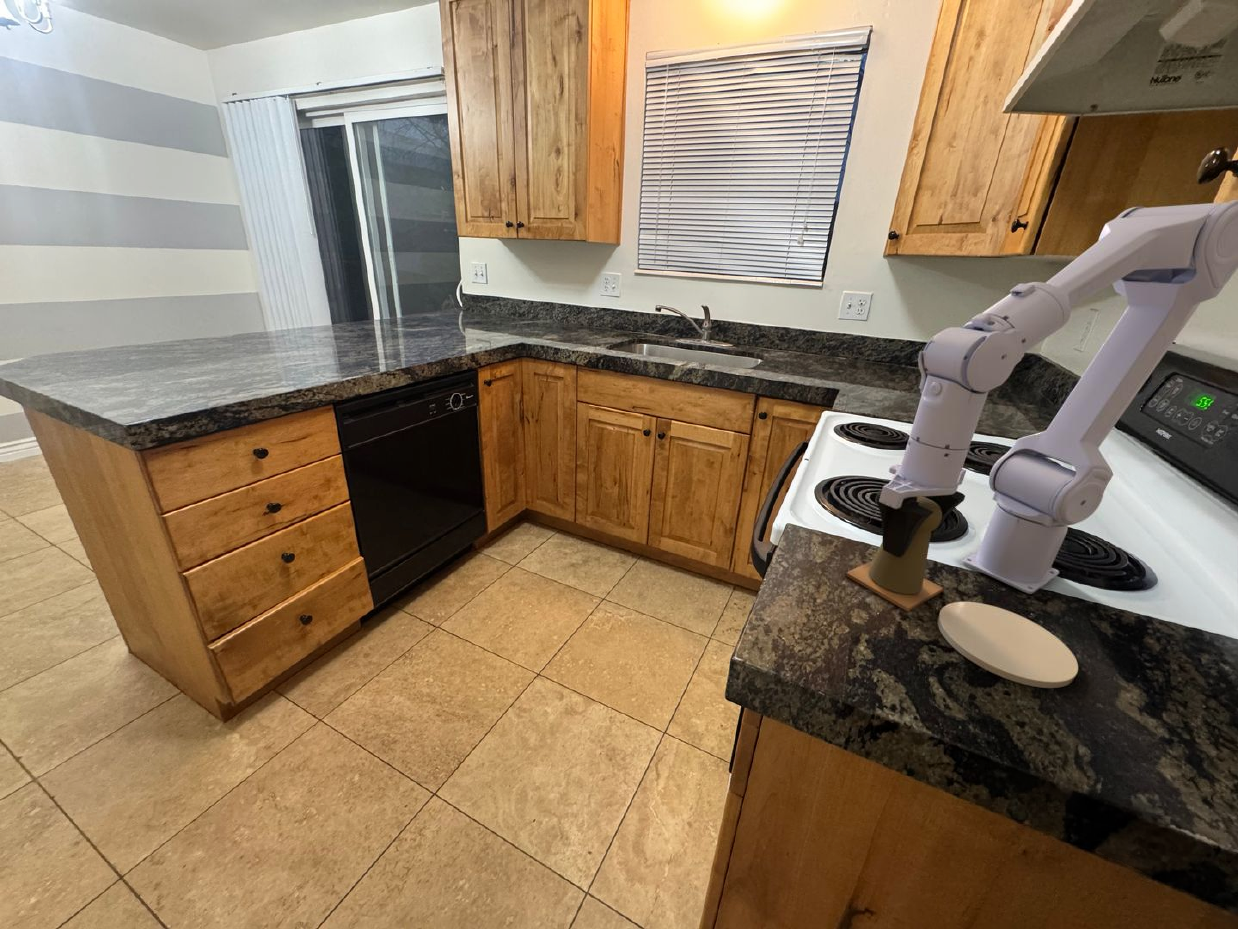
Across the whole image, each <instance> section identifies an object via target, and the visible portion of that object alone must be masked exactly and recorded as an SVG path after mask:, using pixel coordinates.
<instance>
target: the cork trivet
mask: <svg viewBox="0 0 1238 929" xmlns="http://www.w3.org/2000/svg"><path fill="white" fill-rule="evenodd" d="M872 562H873V560H871V561H869V562H866V563H864V564H862V565H860V566H857V567H855V568H853V569H851V570H849V571H847V572H846V573H845V577H847V578H849V579H850V580H852V581H854V582H855V583H857V584H859V585H861V586H863V587H864V588H866V589H868V590H870V591H871V592H873V593H874V594H877V595H878V596H880V597H881V598H883V599H884V600H886V601H888V602H889V603H891V604H893V605H895V606H897V607H898V608H900V609H901V610H904V611H905V612H910V611H911V610H913V609H915V608H916V607H918V606H920V605H922V604H924V603H925V602H927V601H929V600H930V599H933V597H935V596H937V595H939V594H940V593H942V592H943V591H944V587H942V586H940V585H938V584H936V583H934V582H932V581H930V580H929V579H927V578H925V577H924V580H923V586H922V589H921V591H920V592H918V593H915V594H902V593H898V592H894V591H891V590H888V589H886V588H884V587H882V586H880V585H878V584H877V583H876V582H875V581H873V580H872V579H871V577H870V576H869V573H868V570H869V568H870V566H871V564H872Z"/></svg>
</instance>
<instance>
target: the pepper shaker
mask: <svg viewBox="0 0 1238 929" xmlns="http://www.w3.org/2000/svg"><path fill="white" fill-rule="evenodd" d="M916 502H919V504H918V505H919V506H921V507H924V508H926V509H929V510H931V511H933V512H934V513H932V514H931V515H930V516H929V517H928V518H927V519H926V520H925V521H924V522H923V523H922V524H921V525H920V527H919V528H918V530H917V531H916V533H915V534H914V536H913V538H912V540H911V543H910V545H909V547H908V549H907V550H906V552H905V553H904V554H903V556H902V557H896V556H894V555H892V554H890V553H888V552H886V551H884V550H883V540H881V541H882V542H881V543H880V545H879V548H878V550H877V552H876V554H875V555H874V557H873V560H872V561H873V562H872V564H871V566H870V568H869V570H868V573H869V576H870V577H871V579H872V580H873V581H875V582H876V583H877V584H878V585H880V586H882V587H884V588H886V589H888V590H891V591H894V592H898V593H902V594H915V593H918V592H920V591H921V589H922V586H923V580H924V578H925V574H926V568H927V561H928V555H929V549H930V543H931V539H930V536H931V531H933V530H934V529H936V528H937V527H938V525H939V524H940V521H941V519H942V511H941V508H940V506H939V505H938V504H936V503H935V502H934V501H932V500H930V499H928V498H925V497H918V498H917V501H916ZM940 525H941V524H940ZM938 528H939V527H938Z"/></svg>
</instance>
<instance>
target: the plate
mask: <svg viewBox="0 0 1238 929" xmlns="http://www.w3.org/2000/svg"><path fill="white" fill-rule="evenodd" d="M937 626H938V630H939V631H940V634H941V635H942V636H943V638H944V639H945V640H946V642H947V643H948V644H949V645H950V646H951V647H952V648H953V649H954V650H955V651H957V652H958V653H959V654H960V655H962V656H963V657H965V658H966V659H967V660H969V661H970V662H972V663H973V664H975V665H977V666H979V667H981V668H982V669H984V670H986V671H988V672H990V673H991V674H994V675H995V676H998V677H1001V678H1003V679H1006V680H1009V681H1011V682H1015V683H1018V684H1021V685H1024V686H1028V687H1029V686H1030V687H1033V688H1042V689H1058V688H1063V687H1066V686H1068V685H1070V684H1072V683H1073V682H1074V680H1075V679H1076V677H1077V675H1078V673H1079V664H1078V660H1077V658H1076V656H1075V655H1074V653H1073V652H1072V651H1071V649H1070V648H1069V647H1068V646H1067V645H1066V644H1065V643H1064V642H1063V641H1062V640H1060V639H1059V638H1058V637H1057V636H1056V635H1054V634H1052V632H1050V631H1048V630H1047V629H1045V628H1044V627H1042V626H1041V625H1039V624H1037V623H1036V622H1034V621H1032V620H1030V619H1028V618H1026V617H1024V616H1022V615H1020V614H1017V613H1014V612H1012V611H1010V610H1008V609H1005V608H1001V607H998V606H994V605H990V604H986V603H982V602H975V601H955V602H951V603H948V604H946V605H944V606H943V607H942V608H941V609H940V610H939V614H938V616H937Z"/></svg>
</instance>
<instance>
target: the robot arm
mask: <svg viewBox="0 0 1238 929" xmlns="http://www.w3.org/2000/svg"><path fill="white" fill-rule="evenodd" d="M1237 270H1238V199H1232V200H1230V201H1223V202H1211V203H1197V204H1196V203H1195V204H1179V205H1168V206H1167V205H1166V206H1153V207H1145V206H1133V207H1130V208H1127V209H1125V210H1123V211H1122V212H1121V213H1120V214H1118V215H1117V216H1116V217H1115V218H1114V219H1111V220H1109V221H1108V222H1106V223H1105V224H1104V226H1103V228H1102V230H1101V232H1100V235H1099V237H1098V240H1097V242H1095V243H1094V244H1093V245H1092V246H1090V247H1089V248H1088V249H1086V250H1085V251H1084V252H1082V253H1081V254H1080V255H1078V256H1077V257H1076V258H1075V259H1074V260H1073V261H1072V262H1070V263H1069V264H1067V265H1066V266H1065V267H1064V268H1062V270H1060V271H1059V272H1057V273H1056V274H1054V275H1053V276H1052V277H1051V278H1050V279H1048V280H1047V281H1046V282H1041V281H1032V282H1028V283H1018V284H1017V285H1016V286H1014V287H1012V288H1011V289H1010V294H1008V295H1007V296H1005V297H1003V298H1001V299H1000V300H999V301H997V302H996V303H995V304H993V305H992V306H990V307H989V308H987V309H986V310H984V311H983V312H982V313H978V314H977V315H975V316H973V317H972V318H971V320H970V321H968V322H967V323H965V324H964V325H963V326H962V327H959V326H955V327H954V326H952V327H947V328H945V329H943V330H941V331H940V332H937V334H935V335H934V336H932V337H931V338H930V339H929V340H928V342H927V343H926V345H925V347H924V349H923V351H922V350H921V351H919V353H918V358H917V360H918V361H917V362H918V363H917V365H918V369H919V372H920V375H921V377H920V382H919V386H918V389H920V390H919V393H920V395H921V396H920V399H919V403H918V406H917V410H916V413H915V417H914V420H913V423H912V426H911V430H910V433H909V438H908V439H907V444H906V448H905V450H904V453H903V457H902V460H901V464H894V465H891V466H889V468H888V473H890V474H892V475H893V477H892V478H891V480H890V481H889V483H887V484H885V485H883V486H882V489H881V490H880V491H877V493H876V496H875V502H876V504H877V508H878V510H879V513H880V518H881V527H882V541H883V550H884V551H886V552H888V553H890V554H892V555H894V556H896V557H902V556H903V554H904V553H905V552H906V550H907V549H908V547H909V545H910V543H911V540H912V538H913V536H914V534H915V533H916V531H917V530H918V528H919V527H920V525H921V524H922V523H923V522H924V521H925V520H926V519H927V518H928V517H929V516H930V515H931V514H932V513H934V512H933V511H931V510H929V509H926V508H924V507H921V506H919V505H918V504H919V502H916V501H917V498H918V497H925V498H928V499H930V500H932V501H934V502H935V503H936V504H938V505H939V506H940V508H941V511H942V519H941V521H940V524H939V525H938V527H937V528H936V529H934V530H933V531H931V536H930V540H931V539H932V538H933V537H934V535H935V533H936V532H937V530H938V529H939V527H940V526H941V524H942V523H943V521H945V519H946V518H947V517H948V516H949V515H950V513H951V512H953V510H954V509H955V508H957V507H958V506H960V505H961V503H963V502H964V501H965V498H966V495H965V494H964V493H963V492H960V491H958V488H959V486H961V485H962V484H963V481H964V478H965V476H966V472H967V469H965V468H963V467H964V465H965V461H966V458H967V455H968V453H969V450H970V446H971V443H972V440H973V437H974V435H975V431H976V429H977V426H978V423H979V420H980V417H981V414H982V413H983V412H982V411H983V410H984V407H985V404H986V401H987V397H988V395H989V392H990V391H992V390H994V389H996V388H997V387H1000V386H1002V385H1003V384H1004V383H1005V382H1006V381H1007V380H1008V378H1009V377H1010V375H1011V373H1013V371H1014V369H1015V367H1016V365H1017V364H1018V363H1020V362H1021V361H1022V360H1023V359H1022V358H1024V356H1025V353H1026V352H1028V351H1029V350H1031V349H1033V348H1034V347H1035V346H1037V345H1038V344H1040V343H1041V342H1042V341H1044V340H1046V339H1047V338H1049V337H1050V336H1052V335H1053V334H1055V333H1056V332H1057V331H1059V330H1061V329H1062V328H1063V327H1064V326H1065V325H1066V324H1067V323H1068V322H1069V320H1070V317H1071V312H1072V311H1071V308H1074V306H1077V305H1078V304H1080V303H1081V302H1083V301H1085V300H1087V299H1089V298H1090V297H1092V296H1094V295H1095V294H1097V293H1099V292H1100V291H1103V290H1105V288H1107V287H1109V286H1110V285H1112V287H1113V289H1114V291H1115V292H1116V293H1118V294H1119V295H1121V296H1123V297H1124V298H1126V301H1127V308H1126V309H1125V311H1124V312H1123V314H1122V316H1121V317H1120V319H1119V320H1118V322H1117V323H1116V324H1115V326H1114V328H1113V329H1112V331H1111V332H1110V334H1109V335H1108V337H1107V338H1106V339H1105V341H1104V343H1103V344H1102V345H1101V347H1100V349H1099V350H1098V351H1097V353H1096V355H1095V356H1094V358H1093V359H1092V361H1091V362H1090V364H1089V365H1088V367H1087V368H1086V370H1085V371H1084V373H1082V376H1081V377H1080V379H1079V381H1078V382H1077V383H1076V384H1075V386H1074V388H1073V389H1072V390H1071V392H1070V394H1069V395H1068V396H1067V398H1066V400H1065V401H1064V403H1063V404H1062V406H1061V407H1060V409H1059V410H1058V412H1057V414H1056V415H1055V416H1054V418H1053V419H1052V421H1051V423H1050V424H1049V425H1048V426H1047V429H1045V430H1043V431H1041V432H1037V433H1034V434H1030V435H1026V436H1022V437H1020V438H1017V439H1016V441H1015V442H1014V444H1013V445H1012V447H1011V448H1010V449H1009V450H1008V451H1007V452H1006V453H1005V454H1004V455H1003V456H1001V457H1000V458H999V459H997V461H996V462H994V465H993V466H992V468H991V470H990V472H989V477H988V486H989V488H990V490H991V491H992V492H993V496H992V500H993V501H995V502H996V505H995V508H994V510H993V513H992V515H991V518H990V520H989V524H988V526H987V528H986V531H985V534H984V536H983V538H982V541H981V544H980V545H979V549H978V551H976V552H974V553H973V554H971V555H969V556H967V557H965V558H964V559H962V564H964V565H966V566H967V567H969V568H972V569H973V570H976V571H978V572H980V573H981V574H982V573H983V574H984V575H987V576H988V577H991V578H993V579H995V580H998V581H1000V582H1002V583H1004V584H1006V585H1008V586H1010V587H1012V588H1014V589H1017V590H1019V591H1021V592H1023V593H1025V594H1027V595H1032V594H1034V593H1036V592H1037V591H1038V590H1039V589H1041V588H1042V587H1044V586H1045V585H1046V584H1048V583H1049V582H1050V581H1052V580H1053V579H1054V578H1056V577H1058V575H1060V570H1058V569H1056V568H1053V564H1054V561H1055V559H1056V557H1057V555H1058V554H1059V551H1060V549H1061V547H1062V544H1063V542H1064V540H1065V538H1066V535H1067V533H1068V529H1069V528H1068V526H1073V525H1077V524H1079V523H1081V522H1084V521H1085V520H1087V519H1088V518H1089V517H1091V516H1092V515H1093V514H1094V513H1095V512H1096V511H1097V510H1098V508H1099V507H1100V505H1101V503H1102V501H1103V498H1104V493H1105V491H1106V489H1107V486H1108V485H1109V483H1110V482H1111V480H1112V478H1113V477H1114V473H1113V471H1112V468H1111V467H1110V465H1109V464H1108V461H1107V460H1106V458H1105V457H1104V456H1103V454H1102V452H1101V451H1100V449H1099V448H1100V447H1101V445H1102V444H1103V443H1104V441H1105V440H1106V438H1107V437H1108V436H1109V434H1110V433H1111V431H1112V430H1113V428H1114V427H1115V425H1116V424H1117V423H1118V421H1119V419H1121V417H1122V416H1123V414H1124V413H1125V411H1126V410H1127V408H1128V407H1129V406H1130V404H1131V402H1132V401H1133V400H1134V399H1135V397H1136V396H1137V394H1138V393H1139V391H1140V390H1141V389H1142V387H1143V386H1144V385H1145V383H1146V382H1147V380H1148V379H1149V377H1150V376H1151V374H1152V373H1153V372H1154V370H1155V368H1156V367H1157V366H1158V364H1159V363H1160V362H1161V360H1162V359H1163V358H1164V356H1165V354H1166V353H1167V352H1168V350H1169V349H1170V347H1171V346H1172V345H1173V344H1174V342H1175V341H1176V339H1177V338H1178V336H1179V334H1180V333H1181V332H1182V331H1183V329H1184V328H1185V326H1186V325H1187V323H1188V322H1189V321H1190V319H1191V318H1192V316H1193V315H1194V314H1195V313H1196V311H1197V309H1198V308H1199V306H1201V305H1200V304H1202V303H1204V302H1207V301H1209V300H1212V299H1214V298H1216V297H1218V296H1219V294H1220V292H1222V290H1223V289H1224V287H1225V286H1226V285H1227V283H1228V282H1229V281H1230V280H1231V278H1232V277H1233V275H1234V274H1235V273H1236V271H1237ZM1047 458H1048V459H1053V460H1055V461H1059V462H1062V463H1063V464H1066V465H1070V466H1072V467H1073V468H1074V469H1075V470H1073V469H1071V468H1068V467H1065V466H1062V465H1060V464H1057V463H1056V462H1053V461H1052V462H1051V461H1050V460H1047Z"/></svg>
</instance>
